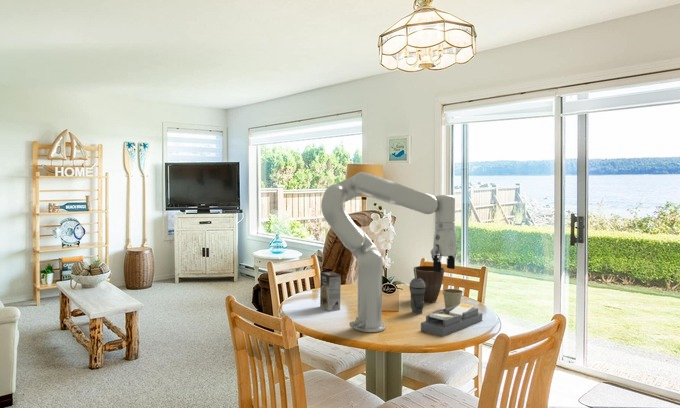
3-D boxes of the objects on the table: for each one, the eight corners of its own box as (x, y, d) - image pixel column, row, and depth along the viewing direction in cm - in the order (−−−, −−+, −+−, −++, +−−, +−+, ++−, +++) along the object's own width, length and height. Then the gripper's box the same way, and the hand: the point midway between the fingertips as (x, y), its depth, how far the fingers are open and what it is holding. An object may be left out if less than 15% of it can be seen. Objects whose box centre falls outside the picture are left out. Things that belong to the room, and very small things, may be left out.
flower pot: (439, 306, 213) (440, 288, 213) (460, 307, 213) (460, 288, 213) (443, 312, 204) (444, 293, 204) (465, 312, 204) (465, 293, 203)
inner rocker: (443, 319, 174) (443, 316, 174) (429, 316, 178) (430, 313, 178) (456, 320, 181) (456, 316, 181) (443, 316, 185) (443, 313, 185)
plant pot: (430, 306, 214) (430, 272, 214) (406, 299, 226) (407, 267, 225) (450, 301, 224) (450, 268, 223) (426, 295, 235) (427, 264, 235)
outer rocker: (462, 317, 184) (462, 314, 184) (449, 314, 188) (449, 311, 188) (474, 308, 191) (474, 305, 190) (461, 305, 195) (461, 303, 195)
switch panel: (443, 336, 170) (443, 322, 170) (420, 330, 177) (421, 316, 177) (482, 320, 192) (482, 307, 191) (461, 315, 199) (461, 303, 198)
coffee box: (319, 306, 212) (319, 272, 211) (331, 305, 215) (332, 271, 214) (328, 311, 204) (328, 275, 203) (340, 309, 207) (341, 274, 206)
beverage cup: (425, 315, 199) (425, 269, 198) (408, 314, 200) (409, 269, 199) (425, 310, 206) (426, 266, 205) (409, 309, 207) (409, 266, 207)
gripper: (440, 228, 169) (440, 274, 170) (464, 226, 182) (464, 268, 182) (423, 227, 175) (423, 271, 175) (448, 224, 187) (447, 266, 188)
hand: (444, 270), depth 179 cm, fingers open, 9 cm apart
